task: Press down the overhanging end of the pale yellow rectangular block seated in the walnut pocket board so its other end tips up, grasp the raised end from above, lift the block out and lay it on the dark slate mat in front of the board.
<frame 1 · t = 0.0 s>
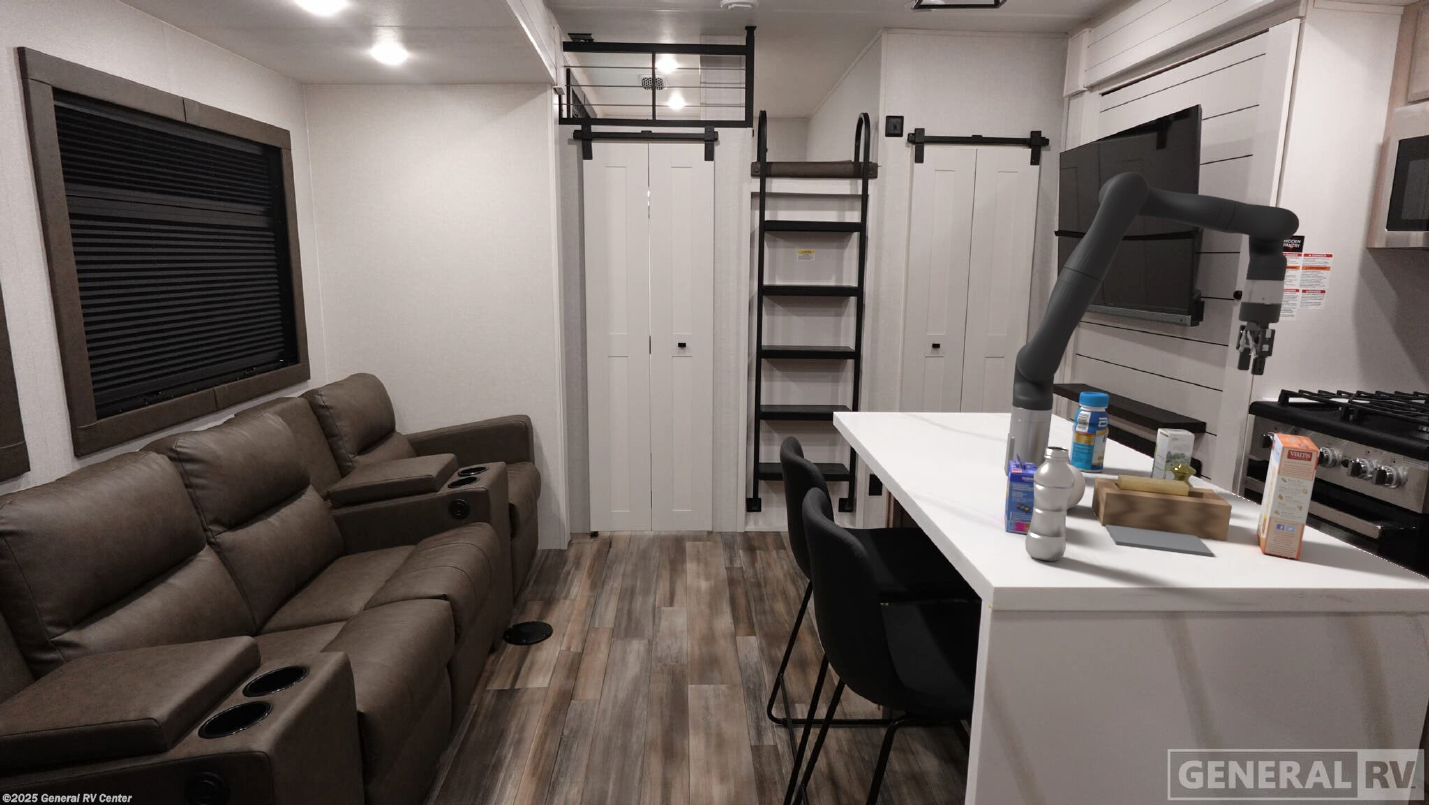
hand: (1249, 372, 173), 29 cm above the table, tool pointing down, fingers open, 8 cm apart
plastic bottle: (1043, 559, 135), on the table
syrup box: (1167, 490, 182), on the table
pocket board: (1146, 522, 157), on the table
cracker box: (1277, 547, 145), on the table
ink cartridge box: (1017, 527, 152), on the table
beverage bottle: (1085, 469, 199), on the table
gold spiky piece: (1176, 509, 167), on the table
pale yellow rectangular block: (1148, 508, 156), point 3 cm above the table, touching pocket board
slate mat: (1156, 541, 146), on the table
ornament: (1055, 509, 164), on the table
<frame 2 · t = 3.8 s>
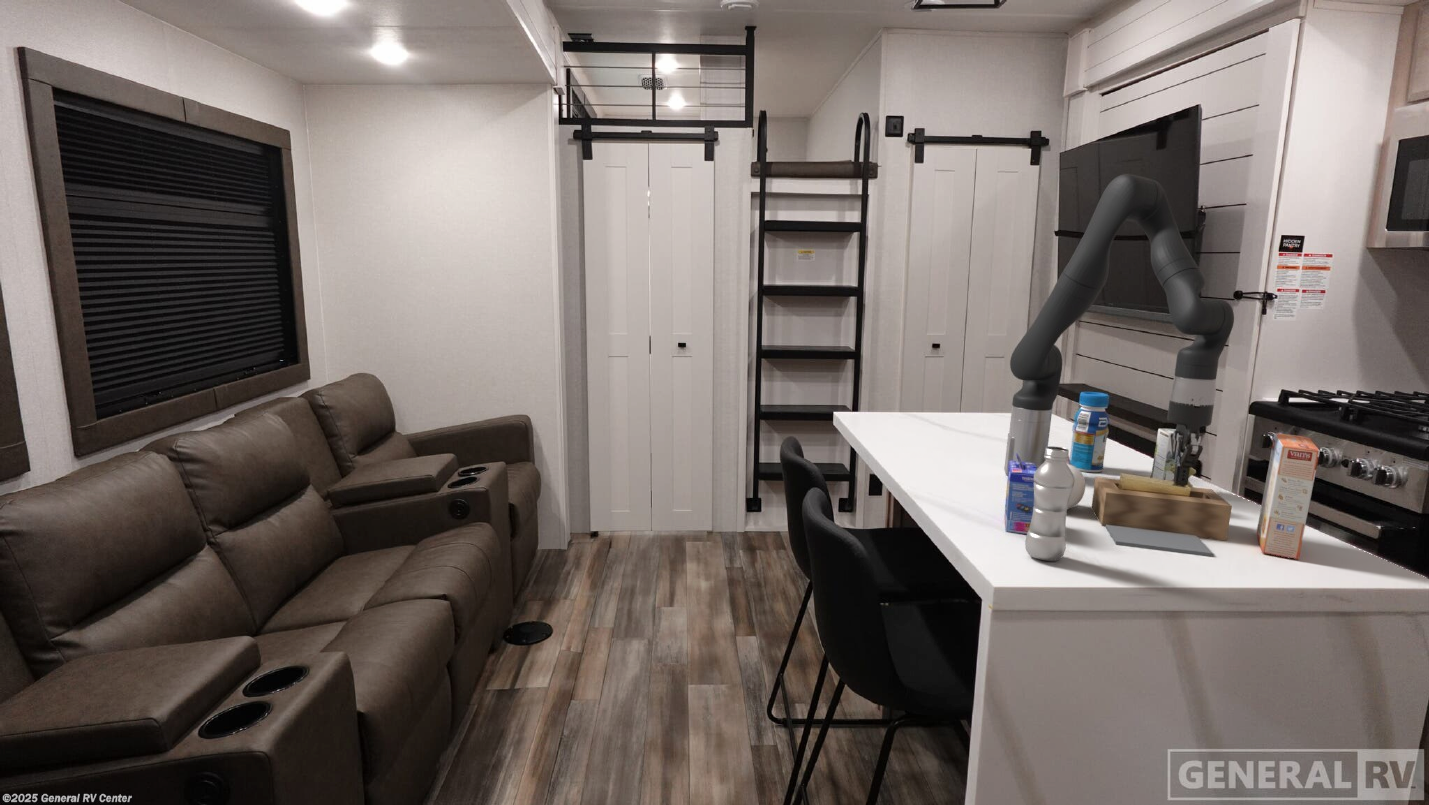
hand: (1180, 484, 154), 9 cm above the table, tool pointing down, fingers closed
pale yellow rectangular block: (1148, 508, 156), point 3 cm above the table, touching gripper, pocket board
everything else where it was.
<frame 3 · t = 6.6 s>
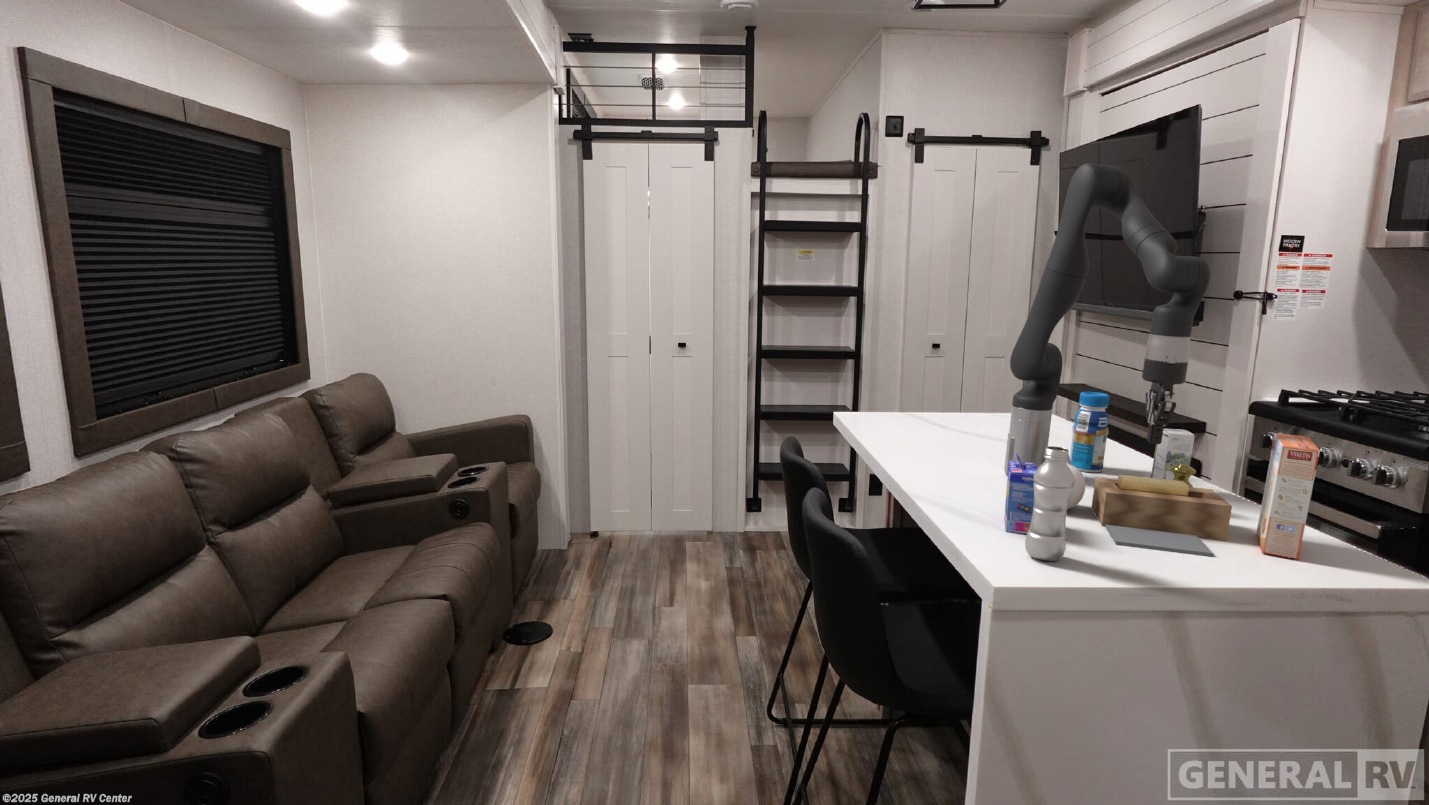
hand: (1153, 442, 154), 17 cm above the table, tool pointing down, fingers closed
pale yellow rectangular block: (1148, 508, 156), point 3 cm above the table, touching pocket board
everything else where it was.
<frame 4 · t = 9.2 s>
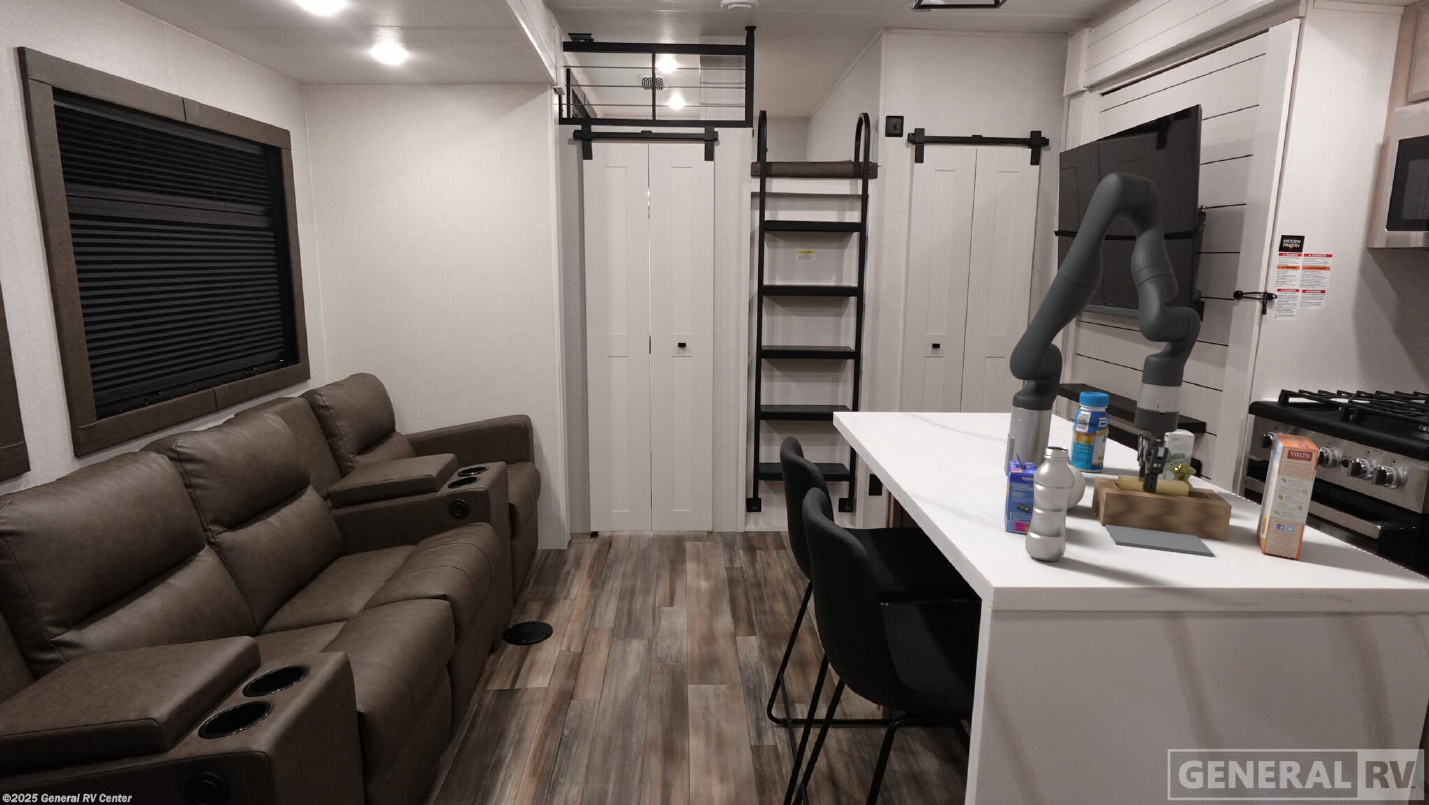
hand: (1146, 488, 156), 7 cm above the table, tool pointing down, fingers closed on pale yellow rectangular block, 4 cm apart
pale yellow rectangular block: (1148, 508, 156), point 3 cm above the table, touching gripper, pocket board
everything else where it was.
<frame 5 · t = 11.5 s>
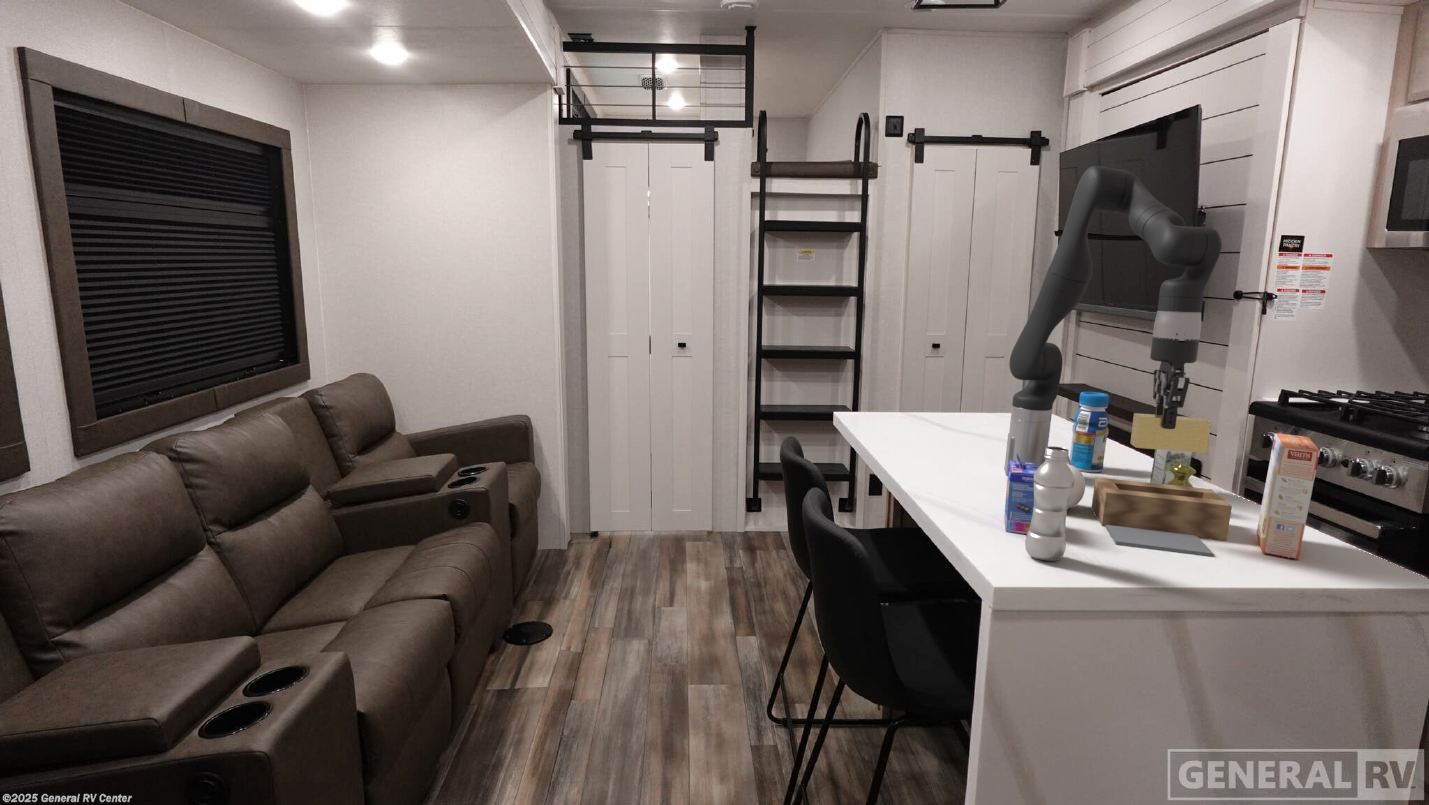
hand: (1164, 425, 144), 22 cm above the table, tool pointing down, fingers closed on pale yellow rectangular block, 4 cm apart
pale yellow rectangular block: (1167, 448, 145), point 18 cm above the table, touching gripper
everything else where it was.
when the fingers open (10 cm above the table, at t = 14.2 s): pale yellow rectangular block drops 5 cm, resting on slate mat.
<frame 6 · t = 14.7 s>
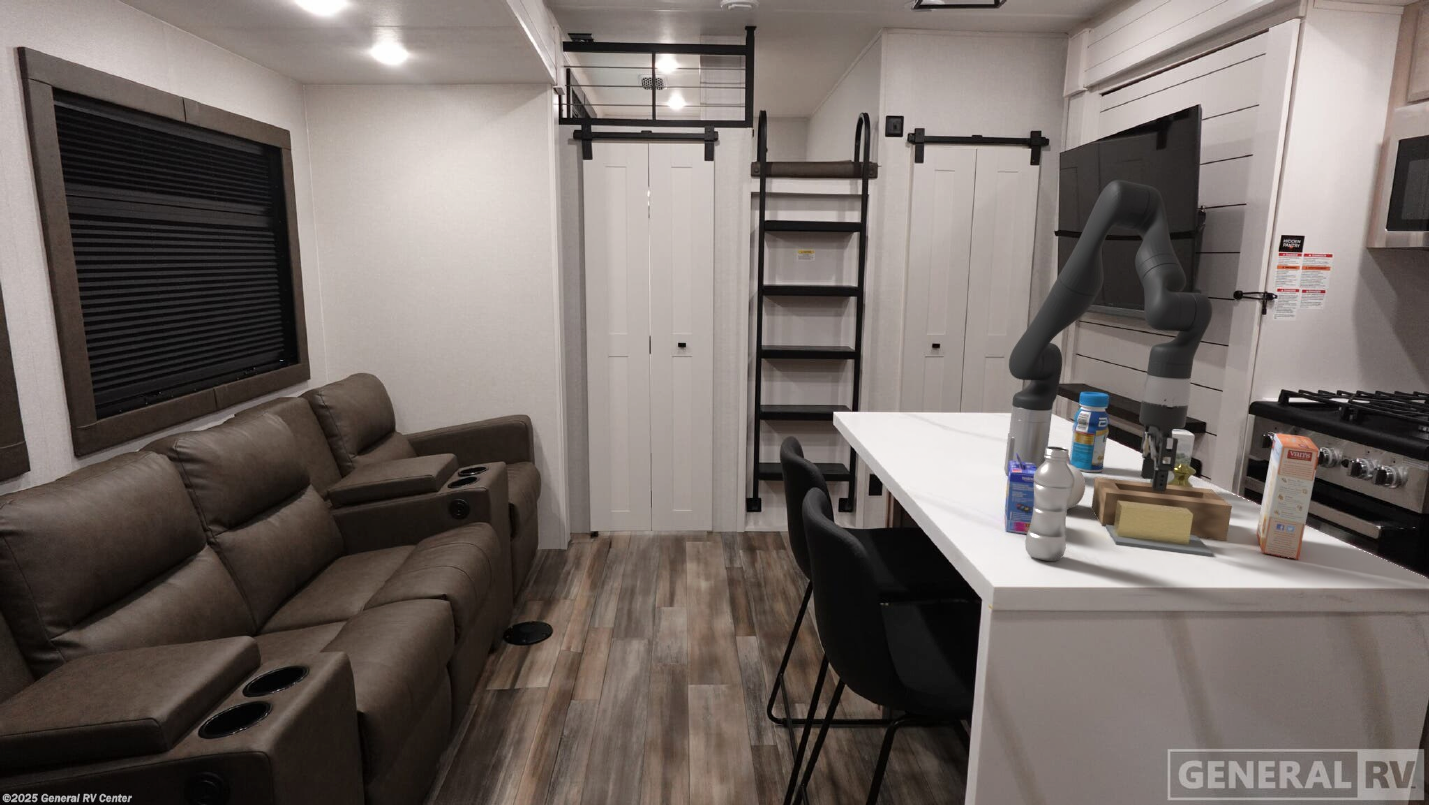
hand: (1152, 484, 144), 11 cm above the table, tool pointing down, fingers open, 8 cm apart
pale yellow rectangular block: (1149, 537, 146), point 1 cm above the table, touching slate mat
everything else where it was.
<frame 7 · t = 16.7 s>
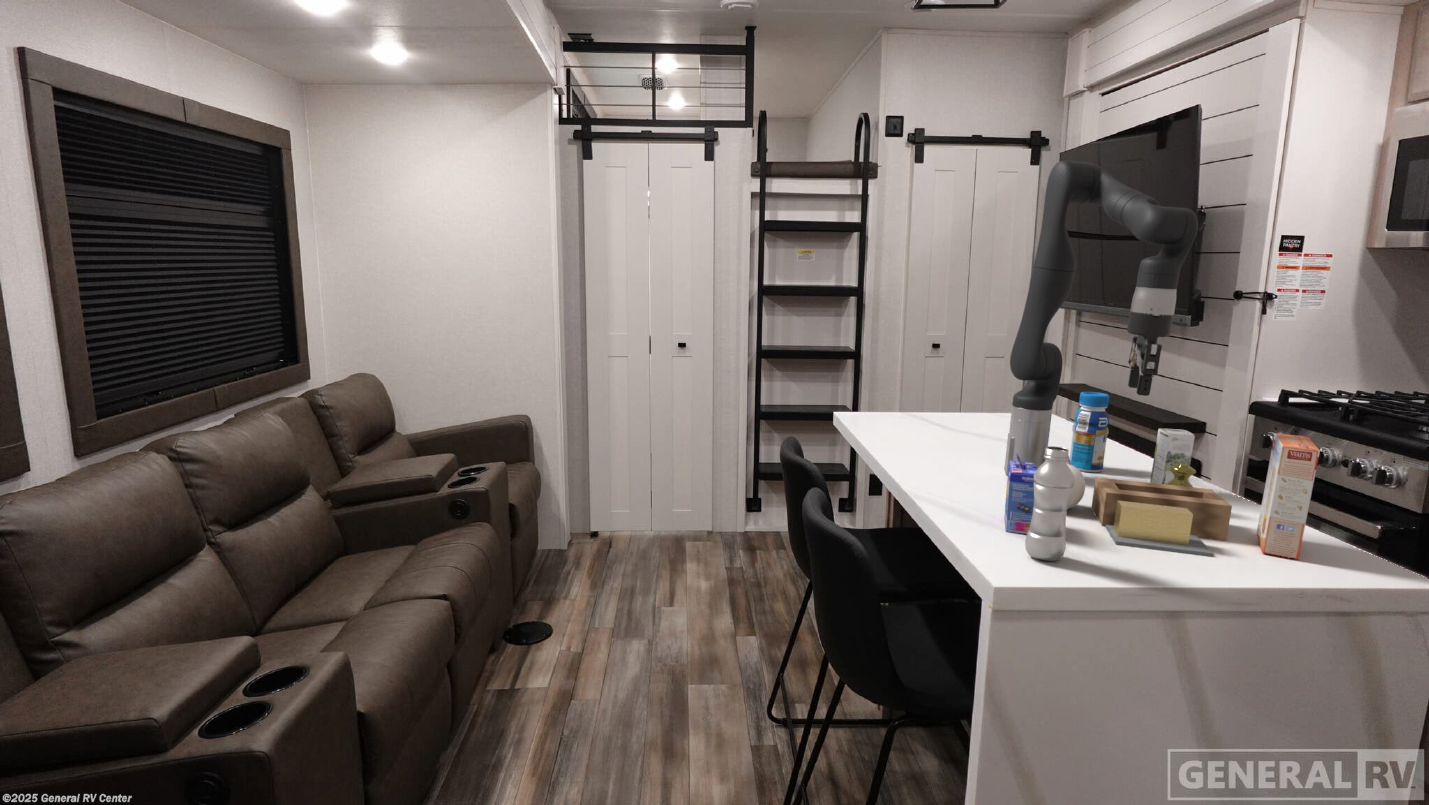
hand: (1138, 391, 153), 27 cm above the table, tool pointing down, fingers open, 8 cm apart
nothing on the table moved.
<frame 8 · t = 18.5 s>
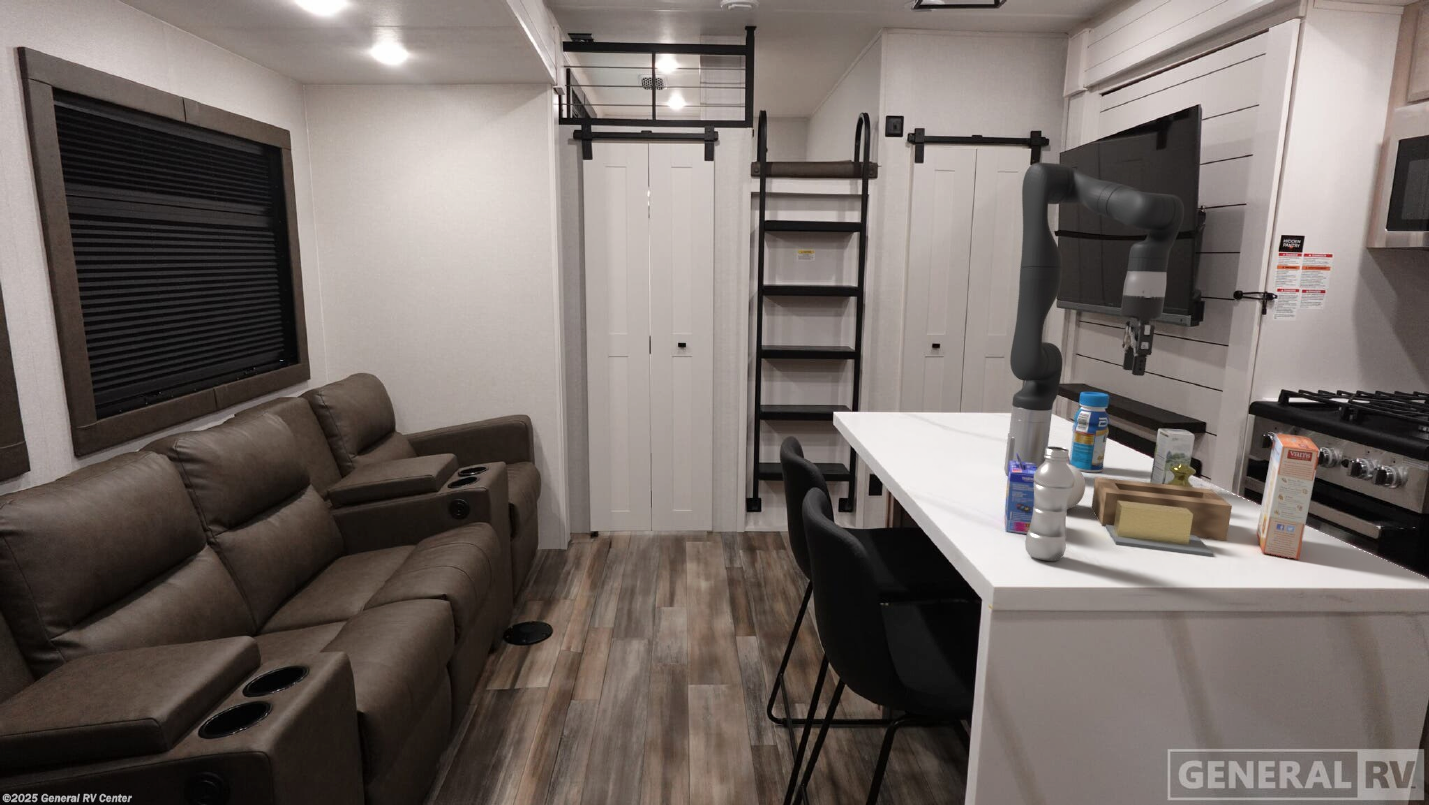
hand: (1133, 372, 158), 30 cm above the table, tool pointing down, fingers open, 8 cm apart
nothing on the table moved.
at the end: pale yellow rectangular block inside the target area on the slate mat (1.1 cm from its centre), point 0.6 cm above the slate mat's base; the gripper is holding nothing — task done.
